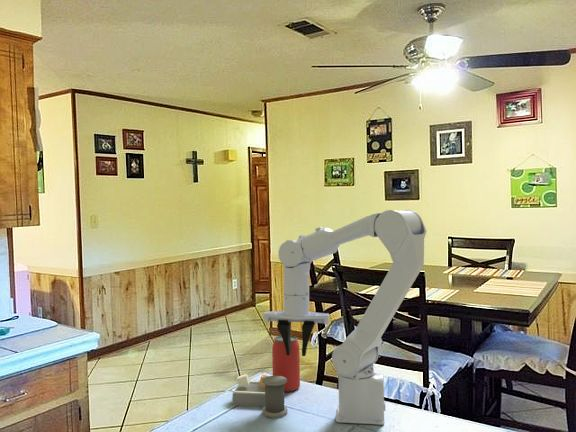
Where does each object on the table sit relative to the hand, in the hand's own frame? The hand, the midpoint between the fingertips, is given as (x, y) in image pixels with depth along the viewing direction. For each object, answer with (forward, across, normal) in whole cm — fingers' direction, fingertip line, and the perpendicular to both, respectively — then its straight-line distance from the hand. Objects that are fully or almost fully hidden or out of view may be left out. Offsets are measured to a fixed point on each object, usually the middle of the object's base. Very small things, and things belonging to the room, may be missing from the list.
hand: (296, 354), depth 110 cm
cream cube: (+8, +12, 0) cm, 14 cm away
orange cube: (+8, +8, 0) cm, 11 cm away
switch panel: (+10, +10, 0) cm, 14 cm away
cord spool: (+10, +4, +7) cm, 13 cm away
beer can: (+11, +4, -8) cm, 14 cm away
